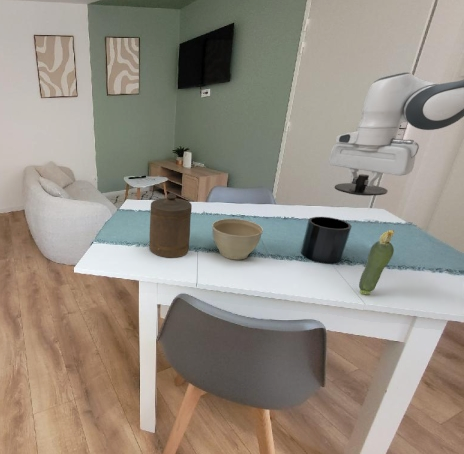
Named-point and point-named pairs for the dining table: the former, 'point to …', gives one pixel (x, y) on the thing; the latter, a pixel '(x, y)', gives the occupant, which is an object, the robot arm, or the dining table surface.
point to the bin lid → (361, 187)
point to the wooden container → (170, 226)
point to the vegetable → (376, 262)
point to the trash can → (325, 239)
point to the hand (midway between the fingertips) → (361, 184)
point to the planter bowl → (236, 237)
